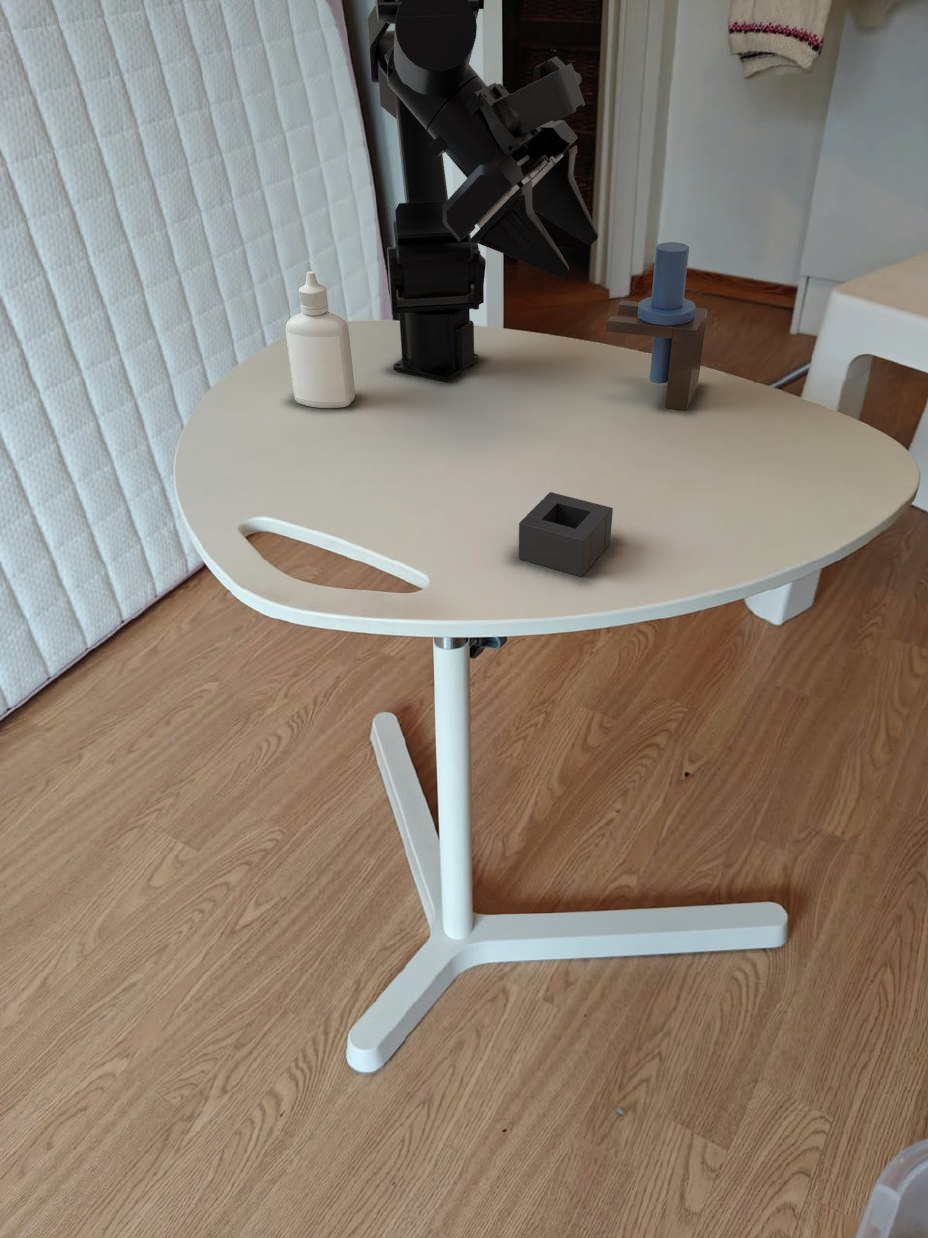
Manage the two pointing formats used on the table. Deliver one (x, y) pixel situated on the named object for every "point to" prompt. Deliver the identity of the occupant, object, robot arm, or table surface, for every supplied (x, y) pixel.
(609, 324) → the stand
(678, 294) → the peg
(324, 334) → the eye dropper bottle
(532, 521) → the holder
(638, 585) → the table surface
